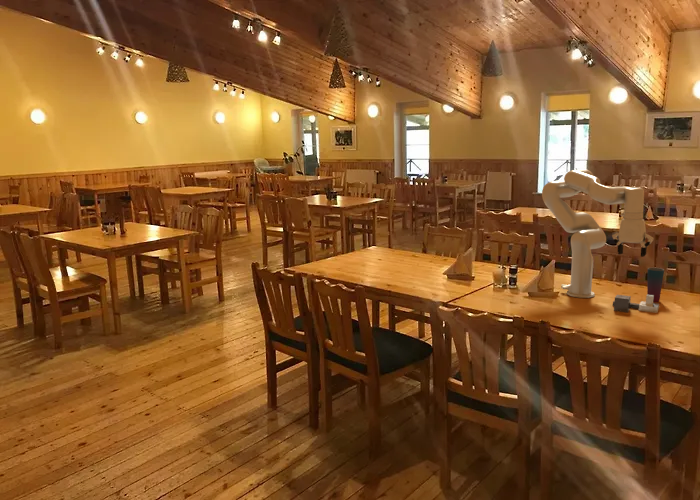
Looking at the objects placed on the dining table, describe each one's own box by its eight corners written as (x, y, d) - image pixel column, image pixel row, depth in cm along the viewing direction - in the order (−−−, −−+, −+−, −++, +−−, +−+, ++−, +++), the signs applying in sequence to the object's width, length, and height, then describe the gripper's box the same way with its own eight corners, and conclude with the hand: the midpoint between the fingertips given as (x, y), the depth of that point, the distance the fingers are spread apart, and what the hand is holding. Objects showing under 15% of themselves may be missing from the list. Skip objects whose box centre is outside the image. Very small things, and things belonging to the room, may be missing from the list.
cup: (663, 302, 269) (666, 270, 267) (647, 302, 271) (650, 270, 268) (659, 298, 276) (661, 267, 273) (643, 298, 277) (645, 267, 274)
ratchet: (611, 306, 264) (612, 292, 263) (614, 303, 270) (615, 289, 269) (657, 313, 254) (658, 298, 253) (658, 308, 260) (660, 294, 259)
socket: (613, 310, 258) (614, 297, 257) (616, 307, 263) (616, 294, 262) (627, 312, 255) (628, 299, 254) (629, 309, 260) (630, 296, 259)
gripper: (609, 216, 259) (608, 254, 262) (650, 218, 246) (648, 258, 249) (617, 214, 264) (615, 252, 267) (657, 216, 251) (655, 256, 254)
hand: (631, 255), depth 258 cm, fingers open, 9 cm apart
